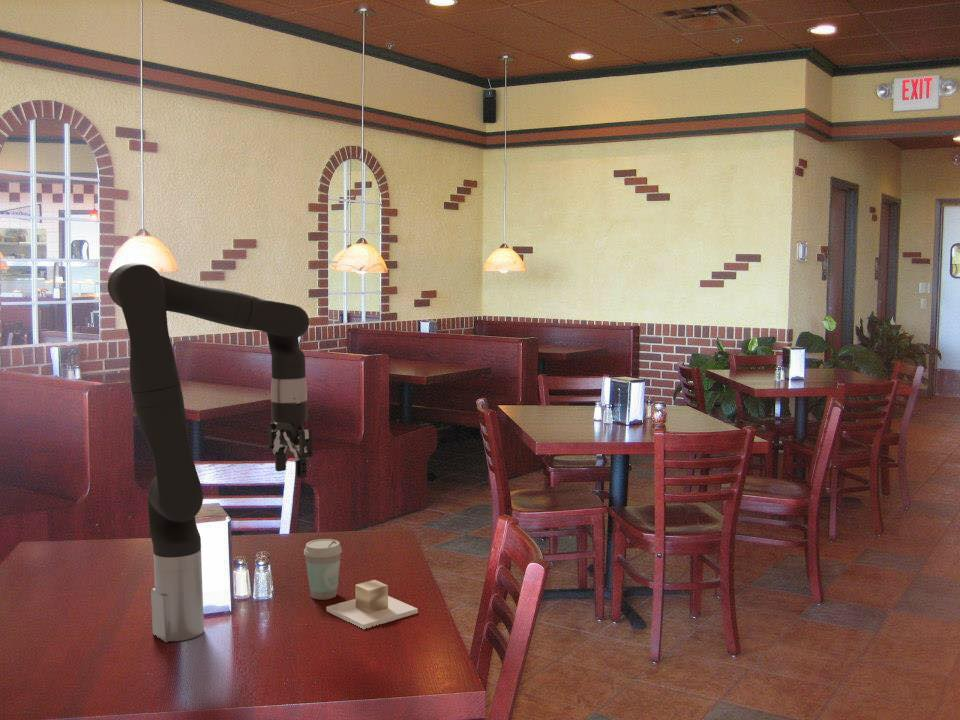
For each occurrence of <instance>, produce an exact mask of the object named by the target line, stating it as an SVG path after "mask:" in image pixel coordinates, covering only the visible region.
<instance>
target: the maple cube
mask: <svg viewBox="0 0 960 720" xmlns="http://www.w3.org/2000/svg"><path fill="white" fill-rule="evenodd" d="M354 589H355V590H354V591H355V592H354V593H355V594H354V596H355V598H354V599H356V608H358V609H360V610H362V611H364V612H367V613H373V612H376V611H380V610H383V609H387V608H388V596H389V586H388V585H387V584H385V583H383V582H381V581H378V580H377V579H372V580H368V581H364V582H360V583H357V584H355V588H354Z"/></svg>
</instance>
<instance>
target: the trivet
mask: <svg viewBox="0 0 960 720" xmlns="http://www.w3.org/2000/svg"><path fill="white" fill-rule="evenodd" d="M325 611H326V612H327V613H329V614H331V615H333V616H336V617H337V618H339V619H341V620H344V621H345V622H347V623H349V622H350V623H349V624H351V623H352V624H351V625H353V624H354V626H355V625H356V626H355V627H357V626H358V627H357V628H359V627H360V628H359V629H361V628H362V630H366V628H367V629H370V628H372V626H373V627H376V625H377V626H379V624H380V625H382V624H386V623H389V622H393V621H396V620H399V619H403V618H406V617H409V616H413V615H417V614H418V608H417V607H414V606H413V605H410V604H408V603H406V602H403V601H401V600H399V599H396V598H394V597H392V596H390V595H388V608H387V609H383V610H380V611H376V612H373V613H367V612H364V611H362V610H360V609H358V608H356V599H355V598H354V599H349V600H346V601H342V602H338V603H336V604H331V605H327V606H326V610H325Z"/></svg>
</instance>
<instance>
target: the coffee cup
mask: <svg viewBox="0 0 960 720" xmlns="http://www.w3.org/2000/svg"><path fill="white" fill-rule="evenodd" d="M342 553H343V550H342V546H341V543H340V541H338V540H336V539H332V538H321V539H320V538H319V539H314V540H311V541H308V542H306V544H305V548H304V549H303V555H304V556H305V565H306V571H307V578H308V585H309V592H310V597H311V598H312V599H314V600H318V601H319V600H321V601H322V600H325V601H326V600H331V599H333V598H335V597H336V596H338V586H339V578H340V577H339V576H340V564H341V555H342Z"/></svg>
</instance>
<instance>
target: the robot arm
mask: <svg viewBox="0 0 960 720" xmlns="http://www.w3.org/2000/svg"><path fill="white" fill-rule="evenodd" d="M107 291H108V292H107V293H108V295H109V297H110V298H111V299H110V300H112V301H113V303H115V304H116V306H118V307H120V308H121V309H122V313H123V317H124V319H125V324H126V327H127V328H126V329H127V333H128V336H129V346H130V347H129V348H130V353H129V354H130V355H129V382H130V383H129V384H130V391H131V395H132V401H133V406H134V410H135V414H136V417H137V420H138V423H139V426H140V428H141V432H142V434H143V436H144V438H145V440H146V442H147V445H148V447H149V449H150V453H151V455H152V459H153V463H154V469H155V477H154V478H153V479H152V480H151V482H150V484H149V488H148V492H147V508H148V509H147V510H148V523H149V524H148V525H149V526H148V527H149V534H150V535H149V536H150V539H151V543H152V551H153V552H152V553H153V574H154V575H153V576H154V587H153V588H151V590H150V596H151V597H150V598H151V599H150V600H151V619H152V620H151V621H152V622H151V623H152V624H151V625H152V635H153V634H154V635H153V636H155V635H156V636H157V637H156V636H155V637H156V638H158V639H159V638H160V639H161V641H162V640H163V641H164V642H163V641H162V642H163V643H169V641H170V642H182V641H186V640H190V639H194V638H197V637H199V636H200V635H202V634H203V633H204V631H205V625H204V624H205V618H204V598H203V597H204V595H203V594H204V593H203V570H202V568H203V566H202V542H201V540H202V539H201V534H200V532H199V529H198V526H197V522H196V516H197V515H198V514H199V512H200V510H201V508H202V506H203V502H204V492H203V491H204V490H203V488H202V483H201V481H200V480H201V479H200V478H199V475H198V471H197V469H196V464H195V461H194V458H193V454H192V453H193V452H192V449H191V443H190V435H189V429H188V428H189V426H188V422H187V414H186V409H185V408H186V407H185V402H184V395H183V390H182V386H181V380H180V375H179V372H178V365H177V361H176V358H175V354H174V350H173V346H172V342H171V339H170V332H169V326H168V316H167V313H168V312H171V313H175V314H182V315H185V316H190V317H193V318H198V319H201V320H204V321H208V322H212V323H214V324H215V323H216V324H220V325H222V326H228V327H234V328H238V329H242V330H250V331H252V330H253V331H259V332H264V333H266V336H267V341H268V346H269V350H270V354H271V355H270V356H271V385H270V402H271V403H270V404H271V405H270V406H271V408H270V411H271V412H270V413H271V414H270V415H271V417H270V418H271V421H272V422H269V424H268V450H271V451H272V453H273V454H274V464H275V465H274V466H275V467H274V469H275V471H276V472H284V471H286V469H287V454H286V451H287V449H289V451H290V452H291V453H293V455H294V458H295V477H296V478H297V479H302V478H306V477H307V471H308V470H307V460H308V459H310V458H311V459H312V458H313V457H314V453H313V452H314V450H313V449H314V448H313V434H312V433H313V432H312V429H310V428H307V429H304V427H303V423H304V422H306V421H307V420H308V418H309V417H308V387H307V385H308V384H307V380H306V376H307V375H306V357H305V353H304V352H303V350H301V348H300V341H299V338H300V337H302V336H303V335H305V333H306V332H308V329H309V327H310V318H309V315H308V313H307V312H306V311H305V310H304V309H303V308H302V307H301V306H299V305H296V304H291V303H285V302H282V301H281V302H280V301H273V300H266V299H263V298H260V297H258V296H254V295H250V294H245V293H241V292H236V291H232V290H229V289H223V288H216V287H211V286H203V285H199V284H198V285H197V284H193V283H187V282H182V281H180V280H175V279H171V278H169V277H165V276H164V275H160V273H159V272H158V271H157V270H156V269H155V268H154V267H152V266H150V265H149V264H144V263H134V262H133V263H126V264H123V265H121V266H119V267H117V268H116V269H114V270H113V272H112V273H111V274H110V276H109V277H108V280H107ZM160 639H159V640H160Z"/></svg>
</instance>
